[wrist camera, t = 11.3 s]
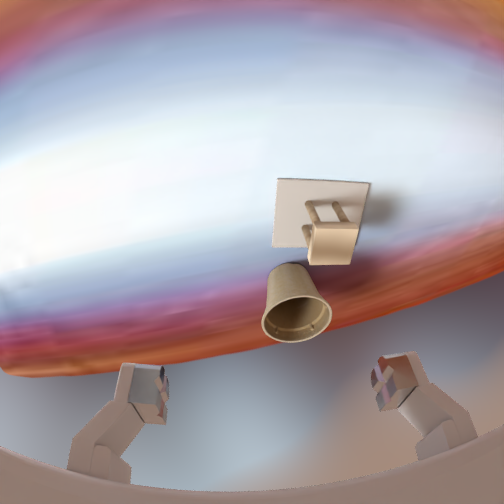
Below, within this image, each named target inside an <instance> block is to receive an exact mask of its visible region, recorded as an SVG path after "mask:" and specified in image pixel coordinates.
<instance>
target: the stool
mask: <svg viewBox="0 0 504 504" xmlns="http://www.w3.org/2000/svg"><path fill="white" fill-rule="evenodd" d="M305 207H306V209H307V212H308V214H309V216H310V219H311V221H312V224H313V227H312V233H311V231H310V229H309V226H308V225H303V226H302V228H301V229H302V232H303V235H304V238H305V241H306V244H307V247H308V250H309V251H308V257H307V258H308V261H309V264H310V265H346V264H350V261H351V258H352V254H353V250H354V246H355V242H356V239H357V235H358V231H359V229H358V227H357V225H356V224H355V222H350V221H349V220H348V218H347V216H346V215H345V213H344V211H343V210H342V208H341V206H340V205H339V203H338V202H337V201H334V202H333V203H332V208H333V210H334V211H335V213H336V215H337V217H338V219H339V220H340V222H324V221H320V218H319V216H318V214H317V212H316V210H315V207H314V205H313V203H312V201H310V200H308V201H306V202H305Z"/></svg>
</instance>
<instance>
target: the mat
mask: <svg viewBox="0 0 504 504" xmlns="http://www.w3.org/2000/svg"><path fill="white" fill-rule="evenodd" d="M368 186H369V184H368V183H361V182H346V181H329V180H308V179H277V190H276V202H275V214H274V226H273V238H272V247H307V244H306V241H305V238H304V235H303V232H302V229H301V228H302V226H303V225H308V226H309V229H310V231H311V233H312V227H313V224H312V221H311V219H310V216H309V214H308V212H307V209H306V207H305V202H306V201H308V200H310V201H312V203H313V205H314V207H315V210H316V212H317V214H318V216H319V218H320V221H324V222H340V220H339V219H338V217H337V215H336V213H335V211H334V210H333V208H332V203H333V202H334V201H337V202H338V203H339V205H340V206H341V208H342V210H343V211H344V213H345V215H346V216H347V218H348V220H349V221H350V222H355V224H356V225H357V227H358V229H359V226H360V221H361V217H362V213H363V209H364V204H365V200H366V196H367V191H368Z"/></svg>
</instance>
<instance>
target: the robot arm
mask: <svg viewBox="0 0 504 504" xmlns="http://www.w3.org/2000/svg"><path fill="white" fill-rule="evenodd" d="M164 374H165V369H164V367H163V366H162V365H145V364H135V363H123V364H122V366H121V369H120V373H119V378H118V382H117V386H116V391H115V396H114V401H109V402H108V403H107V404H106V405H105V406H104V407H103V408H102V409H101V410H100V411H99V412H98V413H97V414H96V415H95V416H94V417H93V418H92V419H91V420H90V421H89V422H88V424H86V426H84V428H83V429H82V430H81V431H80V432H79V433H78V434H77V435H76V436H75V437H74V438H73V439H72V444H71V450H70V454H69V460H68V465H67V470H66V469H62V468H59V467H56V466H52V465H49V464H46V463H43V462H40V461H37V460H35V459H32V458H29V457H26V456H24V455H21V454H18V453H16V452H13V451H11V450H8V449H6V448H4V447H1V446H0V504H504V424H503V425H502V426H500V427H498V428H496V429H494V430H492V431H490V432H488V433H486V434H484V435H482V436H479V437H478V436H477V433H476V430H475V428H474V425H473V423H472V420H471V417H470V415H469V412H468V411H466V410H465V409H464V408H463V407H462V406H460V405H459V404H458V403H457V402H456V401H454V400H453V399H452V398H451V397H449V396H448V395H447V394H446V393H444V392H443V391H442V390H441V389H439V388H438V387H437V386H436V385H434V384H433V383H429V380H428V378H427V376H426V373H425V371H424V369H423V366H422V364H421V362H420V359H419V357H418V355H417V353H416V352H415V351H411V352H404V353H397V354H392V355H386V356H382V357H380V358H379V360H378V365H377V366H375V367H374V368H373V370H372V372H371V384H372V388H373V389H374V390H375V391H376V392H377V393H378V394H377V396H376V401H377V404H378V407H379V411H380V412H381V411H386V410H391V409H397V408H398V411H400V413H401V414H402V415H403V416H404V417H405V418H406V419H407V420H408V421H409V422H410V423H411V424H412V425H413V426H414V427H415V428H416V430H418V432H419V433H420V434H421V435H422V436H423V437H424V438H423V439H422V440H421V441H419V442H418V443H417V444H416V446H415V449H416V453H417V456H418V460H419V461H417V462H414V463H411V464H407V465H404V466H401V467H397V468H394V469H390V470H387V471H383V472H379V473H375V474H371V475H367V476H363V477H359V478H354V479H349V480H344V481H339V482H333V483H328V484H321V485H314V486H307V487H300V488H291V489H280V490H266V491H247V492H246V491H244V492H210V491H209V492H208V491H188V490H175V489H164V488H155V487H148V486H140V485H134V484H130V479H131V467H130V466H129V464H128V463H126V462H125V461H124V460H123V459H122V458H120V456H121V455H122V453H123V452H124V451H125V450H126V448H127V447H128V446H129V444H130V443H131V442H132V441H133V439H134V438H135V437H136V435H137V434H138V433H139V431H140V430H141V429H142V427H143V426H144V423H148V424H162V425H166V418H167V408H166V405H165V402H166V401H167V400H168V399H169V382H168V378H167V376H165V375H164Z"/></svg>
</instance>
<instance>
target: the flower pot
mask: <svg viewBox="0 0 504 504" xmlns="http://www.w3.org/2000/svg"><path fill="white" fill-rule="evenodd" d="M331 318H332V309H331V307H330V305H329V303H328V302H327V301H326V300H324V299H323V297H322V296H321V295H320V294H319V293H318V291H317V289H316V287H315V285H314V283H313V281H312V279H311V277H310V276H309V274H308V271H307V270H306V269H305V268H304V267H303V266H302V265H300V264H290V263H285V264H282V265H279V266H277V267H276V268H274V269H273V270H272V271H271V273H270V274H269V277H268V287H267V307H266V309H265V313H264V315H263V317H262V328H263V331H264V332H265V333H266V334H267V335H268V336H269V337H271V338H272V339H274V340H277V341H280V342H289V343H290V342H291V343H292V342H301V341H305V340H308V339H311V338H313V337H315V336H316V335H318V334H320V333H321V332H322V331H323V330H325V329H326V327H327V326H328V325H329V323H330V321H331Z"/></svg>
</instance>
